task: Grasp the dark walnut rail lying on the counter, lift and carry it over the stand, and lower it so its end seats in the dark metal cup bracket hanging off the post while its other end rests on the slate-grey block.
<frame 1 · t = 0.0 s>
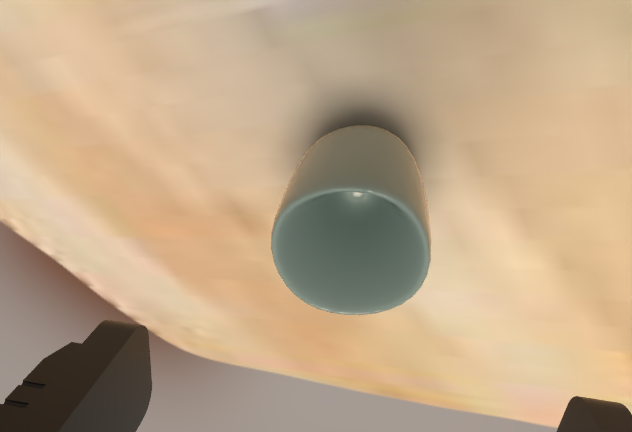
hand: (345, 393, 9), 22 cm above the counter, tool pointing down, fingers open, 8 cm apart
cup: (361, 164, 31), on the counter
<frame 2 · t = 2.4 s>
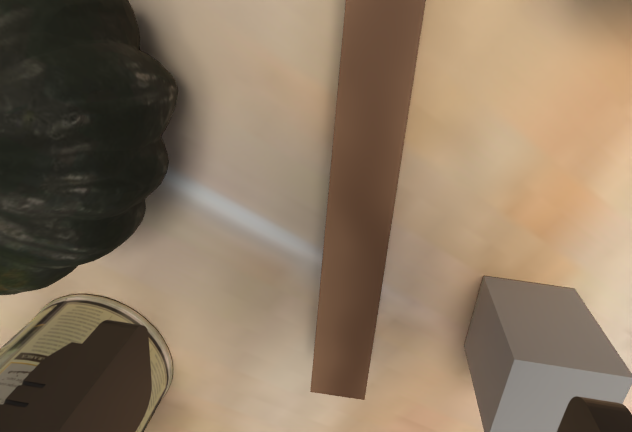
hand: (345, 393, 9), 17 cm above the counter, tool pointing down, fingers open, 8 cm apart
coffee can: (105, 353, 33), on the counter
rest block: (516, 318, 28), on the counter
rail: (367, 146, 25), on the counter
squash: (75, 91, 26), on the counter
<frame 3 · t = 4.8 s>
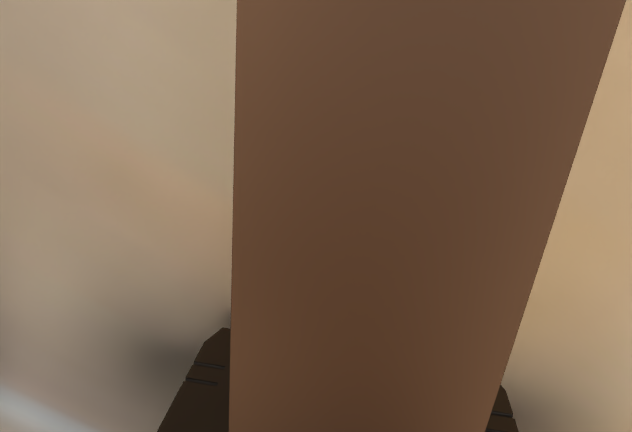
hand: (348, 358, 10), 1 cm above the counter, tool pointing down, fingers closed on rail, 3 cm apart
rail: (352, 337, 11), on the counter, touching gripper
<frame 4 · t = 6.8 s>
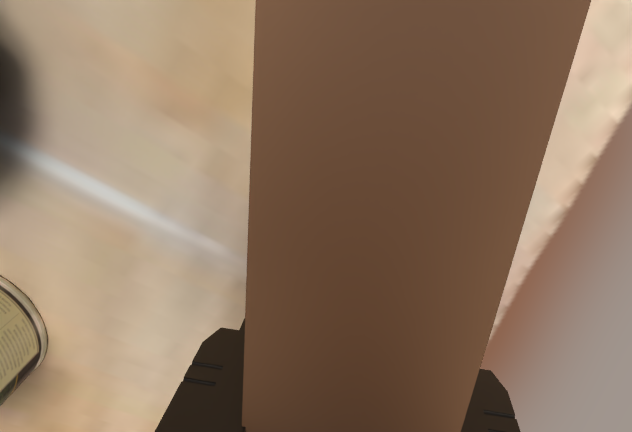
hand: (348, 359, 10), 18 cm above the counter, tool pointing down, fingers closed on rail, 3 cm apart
rail: (353, 319, 11), point 16 cm above the counter, touching gripper
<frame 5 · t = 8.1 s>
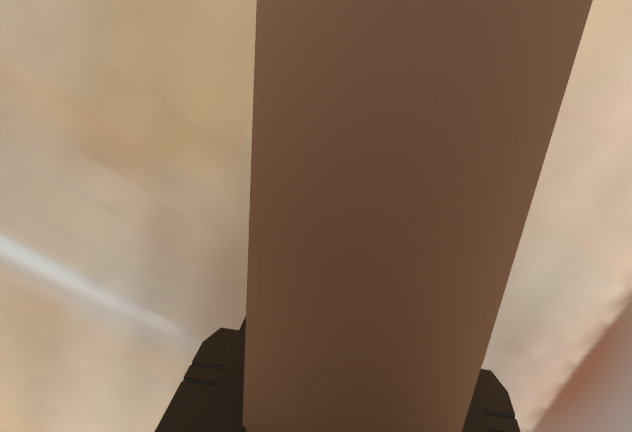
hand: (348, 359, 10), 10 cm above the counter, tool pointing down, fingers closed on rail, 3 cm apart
rail: (353, 319, 11), point 8 cm above the counter, touching gripper
when the fingers open (9 cm above the counter, at t = 9.0 s): rail stays where it is, resting on bracket, rest block.
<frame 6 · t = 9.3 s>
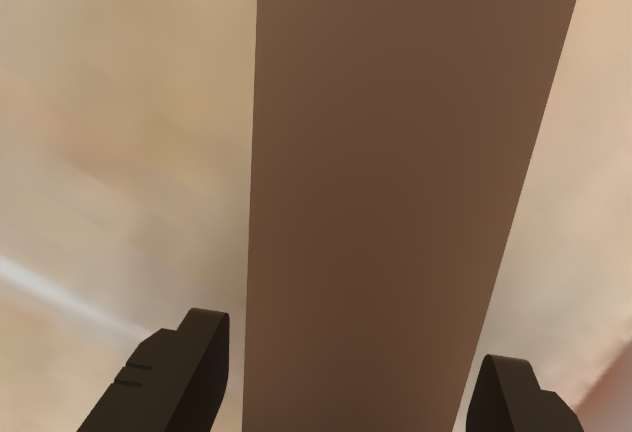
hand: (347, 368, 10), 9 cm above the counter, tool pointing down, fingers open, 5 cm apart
rail: (352, 313, 12), point 7 cm above the counter, touching bracket, rest block
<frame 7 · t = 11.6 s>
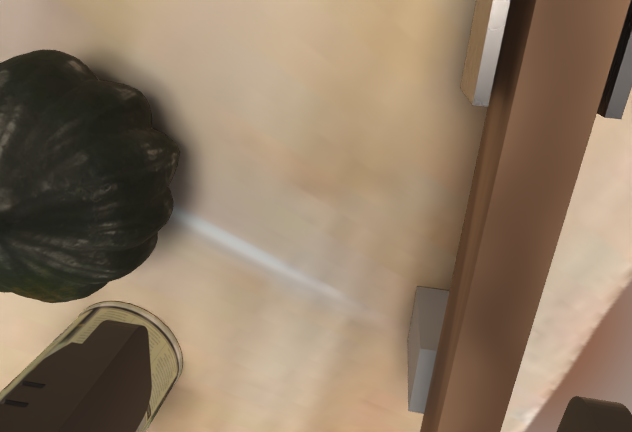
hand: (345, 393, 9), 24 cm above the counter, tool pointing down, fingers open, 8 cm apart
coffee can: (129, 348, 42), on the counter
rest block: (446, 319, 36), on the counter
rail: (486, 258, 26), point 7 cm above the counter, touching bracket, rest block
squash: (106, 150, 35), on the counter
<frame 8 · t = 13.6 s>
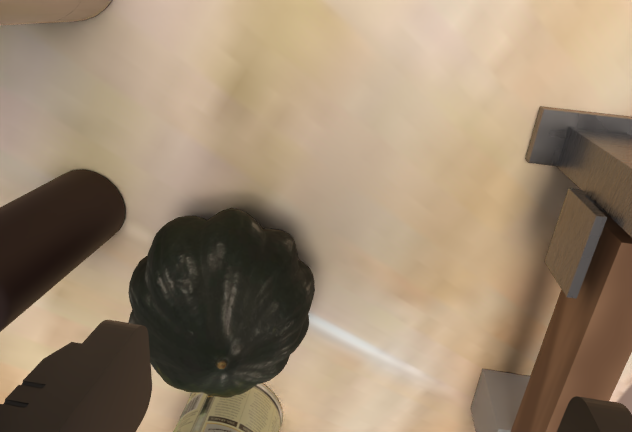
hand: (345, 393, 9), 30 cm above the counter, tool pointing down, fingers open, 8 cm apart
coffee can: (237, 407, 52), on the counter
rest block: (502, 393, 46), on the counter
bracket: (585, 146, 36), on the counter
rail: (553, 371, 36), point 7 cm above the counter, touching bracket, rest block
squash: (241, 262, 44), on the counter
bottle: (92, 203, 44), on the counter
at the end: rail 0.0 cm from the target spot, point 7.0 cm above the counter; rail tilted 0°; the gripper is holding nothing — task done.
